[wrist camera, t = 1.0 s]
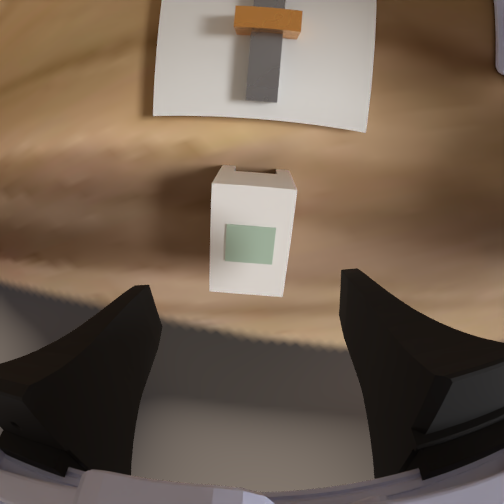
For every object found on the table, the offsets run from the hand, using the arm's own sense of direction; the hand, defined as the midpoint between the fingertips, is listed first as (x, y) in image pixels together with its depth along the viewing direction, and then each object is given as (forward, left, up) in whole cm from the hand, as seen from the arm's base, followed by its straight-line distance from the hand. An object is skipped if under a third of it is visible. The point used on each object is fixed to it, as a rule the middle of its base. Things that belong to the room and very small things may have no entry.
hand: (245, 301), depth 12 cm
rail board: (0, -16, -9) cm, 18 cm away
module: (0, 0, -9) cm, 9 cm away
